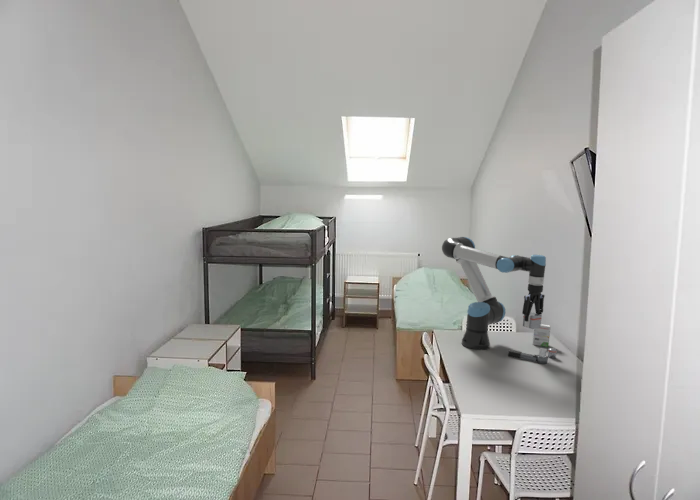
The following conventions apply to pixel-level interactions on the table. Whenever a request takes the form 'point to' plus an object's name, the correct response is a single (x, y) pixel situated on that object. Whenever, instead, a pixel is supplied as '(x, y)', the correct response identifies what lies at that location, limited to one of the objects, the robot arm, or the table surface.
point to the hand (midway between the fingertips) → (531, 326)
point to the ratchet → (531, 356)
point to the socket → (534, 320)
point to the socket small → (552, 353)
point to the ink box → (542, 335)
